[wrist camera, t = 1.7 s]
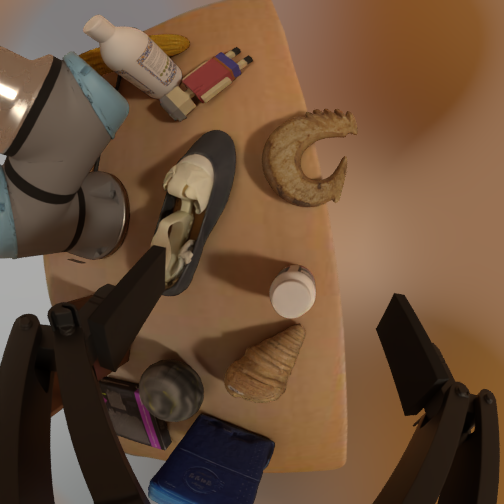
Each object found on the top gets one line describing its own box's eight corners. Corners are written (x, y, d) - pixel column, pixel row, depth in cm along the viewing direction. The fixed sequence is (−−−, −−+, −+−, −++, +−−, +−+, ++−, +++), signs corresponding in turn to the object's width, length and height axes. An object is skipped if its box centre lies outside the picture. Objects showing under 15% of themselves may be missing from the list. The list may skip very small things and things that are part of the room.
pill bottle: (276, 302, 37) (264, 323, 28) (275, 264, 37) (263, 275, 28) (315, 303, 36) (315, 324, 27) (315, 264, 36) (316, 274, 27)
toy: (235, 53, 37) (164, 108, 39) (230, 38, 32) (152, 97, 34) (259, 71, 36) (184, 129, 38) (255, 56, 32) (173, 119, 34)
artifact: (245, 180, 33) (296, 82, 31) (247, 183, 36) (294, 92, 34) (330, 222, 33) (375, 123, 31) (325, 221, 36) (367, 129, 34)
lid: (6, 379, 24) (7, 383, 24) (41, 419, 22) (43, 423, 22) (50, 355, 34) (51, 358, 34) (87, 386, 32) (88, 389, 33)
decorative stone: (208, 351, 40) (180, 382, 30) (217, 404, 41) (194, 440, 31) (153, 347, 42) (118, 371, 32) (165, 396, 43) (136, 426, 33)
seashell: (294, 321, 41) (252, 300, 38) (327, 336, 34) (281, 314, 31) (254, 397, 39) (209, 383, 36) (278, 424, 31) (227, 413, 29)
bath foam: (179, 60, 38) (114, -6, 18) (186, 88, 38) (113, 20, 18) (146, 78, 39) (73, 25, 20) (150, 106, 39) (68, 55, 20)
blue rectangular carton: (279, 437, 39) (254, 529, 19) (268, 454, 39) (241, 540, 20) (201, 407, 41) (143, 484, 22) (194, 425, 42) (141, 499, 23)
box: (158, 386, 43) (85, 369, 47) (148, 395, 40) (75, 375, 44) (173, 441, 44) (102, 420, 48) (166, 451, 41) (94, 427, 44)
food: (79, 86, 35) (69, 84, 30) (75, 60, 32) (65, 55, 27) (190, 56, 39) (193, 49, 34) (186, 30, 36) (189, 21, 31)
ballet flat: (254, 142, 36) (239, 120, 28) (197, 302, 40) (170, 318, 32) (203, 128, 37) (178, 107, 29) (151, 279, 41) (119, 289, 33)
